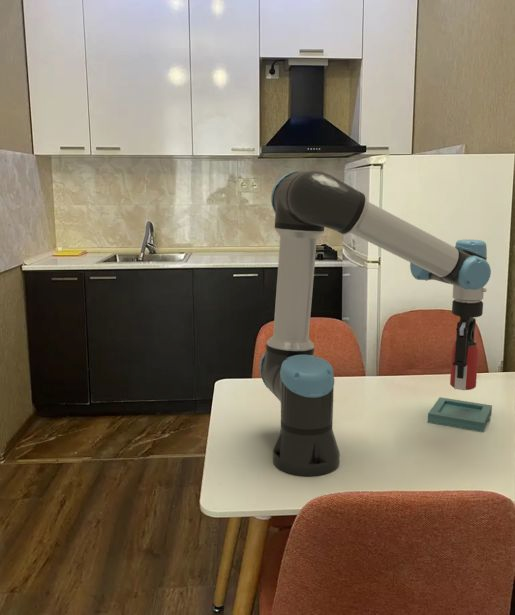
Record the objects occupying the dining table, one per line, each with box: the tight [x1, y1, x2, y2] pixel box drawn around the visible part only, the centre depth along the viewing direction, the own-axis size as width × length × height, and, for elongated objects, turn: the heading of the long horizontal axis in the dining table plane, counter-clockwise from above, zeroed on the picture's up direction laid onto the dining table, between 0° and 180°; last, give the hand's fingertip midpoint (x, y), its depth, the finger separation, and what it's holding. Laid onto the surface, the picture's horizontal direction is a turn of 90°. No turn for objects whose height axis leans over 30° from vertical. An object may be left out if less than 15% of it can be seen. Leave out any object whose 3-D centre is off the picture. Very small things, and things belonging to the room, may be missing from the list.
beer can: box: [449, 341, 479, 391], centre depth 160 cm, size 7×7×12 cm
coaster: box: [427, 396, 493, 433], centre depth 163 cm, size 14×14×2 cm
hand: (462, 385), depth 161 cm, fingers closed on beer can, 7 cm apart
